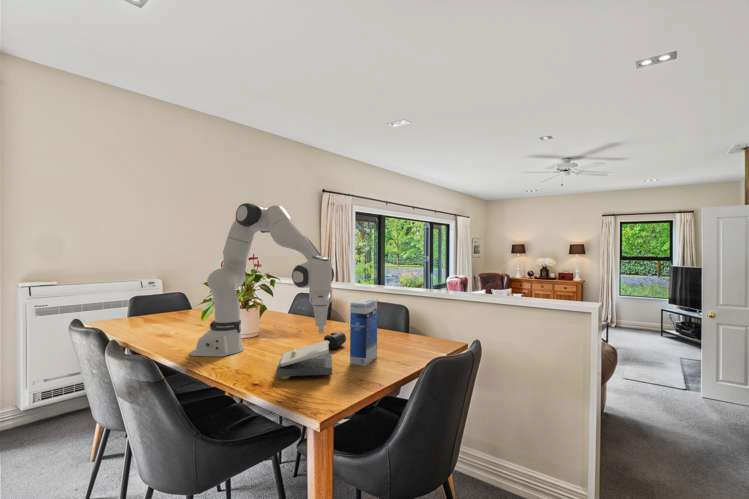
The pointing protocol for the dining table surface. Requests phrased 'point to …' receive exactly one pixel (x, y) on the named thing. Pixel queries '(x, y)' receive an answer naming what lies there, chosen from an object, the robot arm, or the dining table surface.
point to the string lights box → (363, 331)
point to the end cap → (335, 340)
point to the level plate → (304, 353)
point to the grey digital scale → (307, 367)
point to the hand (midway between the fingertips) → (321, 332)
